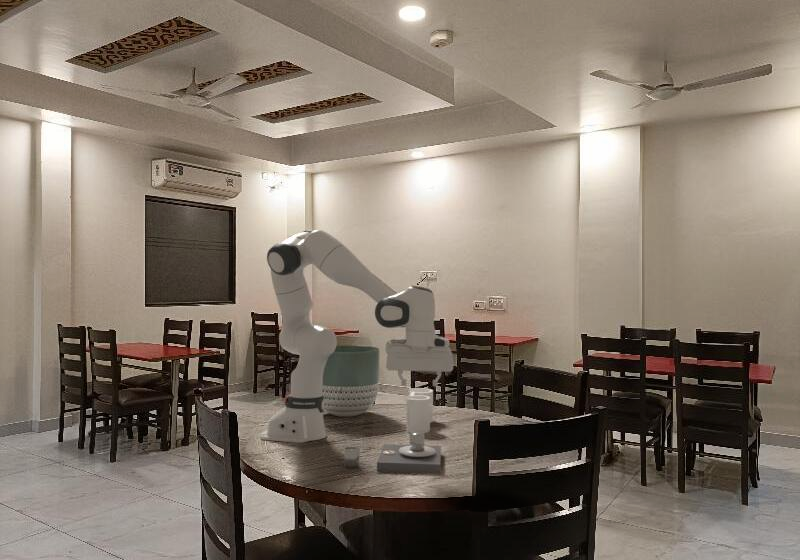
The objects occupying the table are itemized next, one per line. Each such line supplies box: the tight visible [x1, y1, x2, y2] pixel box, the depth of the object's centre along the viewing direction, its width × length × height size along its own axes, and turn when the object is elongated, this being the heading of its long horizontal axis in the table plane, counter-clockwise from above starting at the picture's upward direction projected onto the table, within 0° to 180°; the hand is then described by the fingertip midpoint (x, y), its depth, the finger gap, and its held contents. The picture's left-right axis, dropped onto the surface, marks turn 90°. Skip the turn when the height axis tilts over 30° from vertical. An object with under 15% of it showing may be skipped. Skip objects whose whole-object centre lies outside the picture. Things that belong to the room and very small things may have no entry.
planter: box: [323, 344, 380, 418], centre depth 254 cm, size 27×27×27 cm
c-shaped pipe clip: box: [406, 387, 434, 434], centre depth 237 cm, size 25×10×12 cm, turn 175°
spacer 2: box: [409, 432, 425, 452], centre depth 188 cm, size 4×4×5 cm
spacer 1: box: [343, 446, 361, 469], centre depth 183 cm, size 4×4×5 cm
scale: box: [376, 443, 442, 474], centre depth 188 cm, size 18×20×4 cm
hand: (419, 385), depth 188 cm, fingers open, 8 cm apart
